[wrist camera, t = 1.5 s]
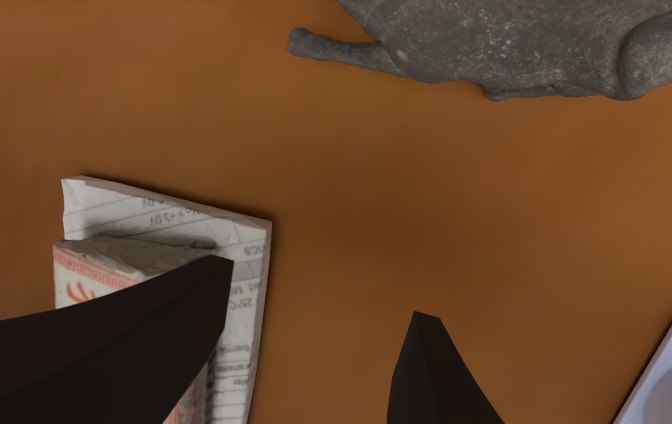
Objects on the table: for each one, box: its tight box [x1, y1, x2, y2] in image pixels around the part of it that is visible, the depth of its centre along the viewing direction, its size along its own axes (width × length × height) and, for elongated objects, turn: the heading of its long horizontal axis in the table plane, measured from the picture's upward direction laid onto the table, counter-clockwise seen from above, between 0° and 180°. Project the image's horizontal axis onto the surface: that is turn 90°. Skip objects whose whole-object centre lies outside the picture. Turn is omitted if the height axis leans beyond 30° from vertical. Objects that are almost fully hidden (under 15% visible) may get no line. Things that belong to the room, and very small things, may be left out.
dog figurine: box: [287, 0, 672, 101], centre depth 13 cm, size 12×6×7 cm, turn 80°
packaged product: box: [53, 175, 272, 424], centre depth 22 cm, size 18×5×10 cm
